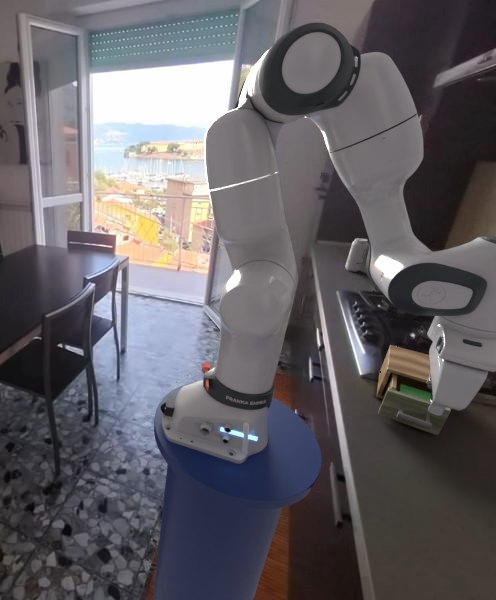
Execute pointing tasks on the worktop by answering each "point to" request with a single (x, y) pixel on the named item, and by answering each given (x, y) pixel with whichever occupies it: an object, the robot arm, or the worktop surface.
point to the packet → (415, 392)
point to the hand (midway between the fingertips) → (432, 399)
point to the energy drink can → (356, 254)
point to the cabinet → (403, 366)
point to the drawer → (410, 405)
